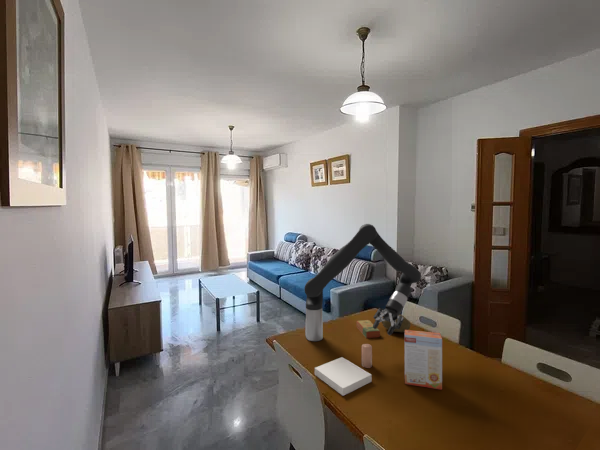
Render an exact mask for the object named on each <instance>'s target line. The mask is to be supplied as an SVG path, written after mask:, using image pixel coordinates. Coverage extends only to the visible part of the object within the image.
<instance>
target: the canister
mask: <svg viewBox="0 0 600 450" xmlns="http://www.w3.org/2000/svg"><path fill="white" fill-rule="evenodd" d="M361 366H362V367H363V368H364V369H370V368H372V366H373V346H372V345H371V344H369V343H363V344H362V345H361Z"/></svg>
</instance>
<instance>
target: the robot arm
mask: <svg viewBox="0 0 600 450" xmlns="http://www.w3.org/2000/svg"><path fill="white" fill-rule="evenodd" d="M369 244H370V245H371V246H372V247H373V248H374V249H375V250H376V251H377V252H378V253H379V254H380V256H381V257H382V258H383V259H384V260H385V262H387V263H388V264H389V266H390V267H392V268H393V270H395V271H396V272H399V273H402V274H401V275H400V277H399V281H398V285H397V286H396V288H395V290H394V291H393V293H392V294H391V296H390V297H389V299H388V301H387V303H386V304H385V308H384V309H381V308H380V307H378V309H377V311H376V312H375V314H374V315H373V319H374V320H375V321H374V322H373V323H372V324H373V328H374V329H377V328H378V327H379V325H380V323H382V322H381V321H385V320H386V321H389V322H391V326H390V328H389V330H388V329H387V332H386V334H387V335H388V336H391V335H393V333H394V332H393V331H394V329H400V327H401V325H402V322H403V320H404V318H403V317H402V316H401V315H402V314H401V313H402V312H403V309H404V307H405V306H406V304H407V302H408V299H409V297H410V296H411V293H412V288H411V286H412V285H413V284H417V283H418V282H420V280H421V279H422V275H421V272H420V270H419V269H417V268H416V266H414V265H412V264H410V263H409V262H407V261H406V260H405V259H404V258H403V257H402V256H401V254H399V253H398V252H397V251H396V250H395V249H394V248H393V247H391V245H389V244H388V243H387V242H386V241H385V240H384V239H383V238H382V237H381V235H380V234H379V232H378V231H377V229H376V227H375V226H374V225H373V224H372V223H371V224H370V223H365V224H362V225H361V226H360V227H359V229H358V231H357V232H356V233H355V235H354V236H353V237H352V238H351V240H350V241H348V242H347V243H346V244H345V245H344V246H342V247H341V248H340V249H338V250H337V251H336V252H335V253H334V254H333V255H332V256H331V257H330V258H329V260H327V262H326V263H325V265H323V267H322V269H321V270H320V272H318V273H317V274H316V275H315V276H314V277H312V278H310V279H309V280H307V282H306V283H305V285H304V293H305V295H306V299H305V320H304V322H305V324H304V325H305V326H304V330H305V331H304V334H305V338H306V340H308V341H311V342H320V341H322V340H323V337H324V336H323V335H324V334H323V333H324V332H323V329H324V328H323V326H324V325H323V302H324V289H325V287H326V286H328V285H329V283H330V282H331V281H333V280H334V279H335V278H336V277H337V276H338V275H339V274H341V273H342V272H343V271H345V269H346V268H347V267H348V266H349V265H350V264H351V263H352V261H354V259H355V258H357V256H358V254H359V253H360V252H361V251H362V250H364V249H365V247H367V246H368V245H369ZM399 315H400V316H399ZM396 319H398V320H397V322H395V320H396Z"/></svg>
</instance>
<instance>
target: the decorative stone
mask: <svg viewBox="0 0 600 450" xmlns="http://www.w3.org/2000/svg"><path fill="white" fill-rule="evenodd" d="M400 315H401V316H402V317H403V318H404V320H403V322H402V325H401V327H400V329H394V331H393V333H405V330H410V328H411V326H412V325H411V321H410V320H409V319H408V318H406V316H404V315H402V314H400ZM400 315H399V316H400ZM397 320H398V319H396V320H395V322H397ZM380 323H382V326H383V328H385V329H387V331H388V330H389V328H390V326H391V322H389V321H386V320H385V321H381V322H380Z"/></svg>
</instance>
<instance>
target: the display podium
mask: <svg viewBox="0 0 600 450" xmlns="http://www.w3.org/2000/svg"><path fill="white" fill-rule="evenodd" d="M314 375H315V377H317V378H318V379H320V380H321V381H322V382H323V383H325V384H327V385H328V386H329V387H330V388H332V389H333V390H335V391H336V393H338V394H340V395H341V396H345V395H348V394H351V393H352V392H354V391H356V390H358V389H360V388H362V387H364V386H365V385H367V384H370V383H372V379H373V378H372V376H373V375H372V374H371V373H369V372H368V371H367V370H364V369H363V368H362V367H359V366H358V365H356V364H355V363H353V362H351V361H350V360H348V359H346V358H344V357H343V356H341V357H339V358H336V359H334V360H331V361H329V362H326V363H323V364H321V365H319V366H315V367H314Z"/></svg>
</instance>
